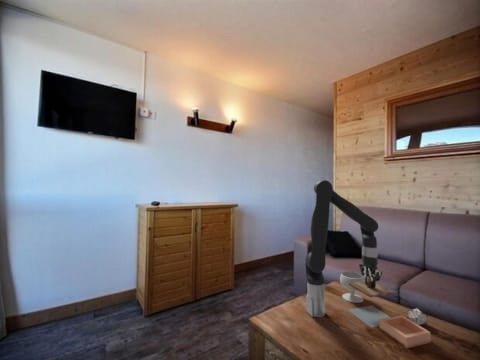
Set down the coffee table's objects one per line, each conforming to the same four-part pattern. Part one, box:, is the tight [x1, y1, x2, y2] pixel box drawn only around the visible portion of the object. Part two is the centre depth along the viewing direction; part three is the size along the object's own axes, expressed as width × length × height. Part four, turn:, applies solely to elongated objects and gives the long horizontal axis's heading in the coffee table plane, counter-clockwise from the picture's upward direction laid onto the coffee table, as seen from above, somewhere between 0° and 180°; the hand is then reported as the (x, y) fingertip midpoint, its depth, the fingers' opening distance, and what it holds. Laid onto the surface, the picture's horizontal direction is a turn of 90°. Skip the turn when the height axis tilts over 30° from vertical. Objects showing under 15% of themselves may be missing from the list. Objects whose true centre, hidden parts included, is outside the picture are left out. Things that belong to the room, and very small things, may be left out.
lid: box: [349, 275, 394, 298], centre depth 123 cm, size 15×15×7 cm
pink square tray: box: [379, 315, 432, 349], centre depth 107 cm, size 14×14×4 cm
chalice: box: [339, 270, 365, 304], centre depth 142 cm, size 14×14×15 cm
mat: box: [347, 305, 391, 328], centre depth 123 cm, size 17×17×1 cm
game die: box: [406, 306, 429, 326], centre depth 115 cm, size 9×8×10 cm
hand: (370, 286), depth 123 cm, fingers closed on lid, 3 cm apart
